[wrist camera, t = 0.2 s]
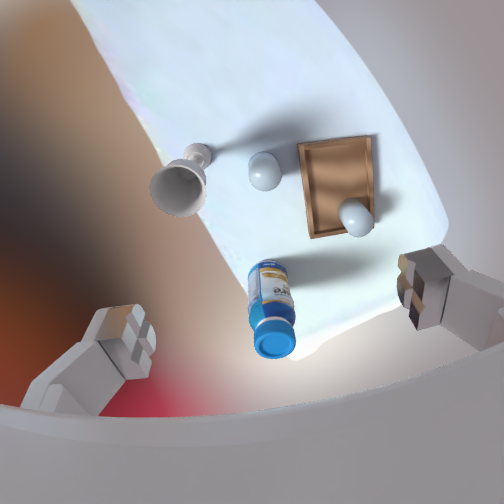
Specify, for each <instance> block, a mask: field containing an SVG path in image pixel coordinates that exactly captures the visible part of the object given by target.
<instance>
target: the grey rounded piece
mask: <svg viewBox="0 0 504 504" xmlns="http://www.w3.org/2000/svg"><path fill="white" fill-rule="evenodd" d="M248 170H249V180H250V183H251V184H252V186H253V187H254V188H256V189H258V190H260V191H270V190H273V189H274V188H276V187H277V186H278V185H279V183H280V181H281V178H282V173H281V170H280V167H279V165H278V162H277V160H276V158H275V157H274V156H273V155H272V154H270V153H267V152H259V153H257V154H255V155H253V156H252V157H251V159H250V161H249V164H248Z"/></svg>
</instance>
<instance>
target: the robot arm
mask: <svg viewBox="0 0 504 504" xmlns="http://www.w3.org/2000/svg"><path fill="white" fill-rule="evenodd" d="M398 267H399V269H400V270H401V273H400V275H399V276H398V278H397V291H398V296H399V299H400V302H401V303H402V305H403V307H405V308H407V309H409V310H410V311H409V318H410V319H411V321H412V323H413V324H414V326H415V328H416V330H417V331H418V330H422V329H425V328H429V327H432V326H436V325H440V324H441V326H442V327H444V328H445V329H447V330H448V331H450V332H451V333H453V334H454V335H456V336H457V337H459V338H460V339H462V340H463V341H465V342H466V343H468V344H469V345H471V346H472V347H474V348H475V349H477V350H478V351H480V352H478V353H476V354H474V355H471V356H468V357H466V358H463V359H461V360H458V361H456V362H453V363H450V364H448V365H445V366H442V367H439V368H436V369H434V370H431V371H428V372H425V373H422V374H419V375H416V376H413V377H410V378H406V379H403V380H400V381H396V382H393V383H390V384H386V385H382V386H379V387H375V388H371V389H367V390H364V391H360V392H355V393H351V394H347V395H343V396H338V397H334V398H329V399H324V400H320V401H315V402H309V403H304V404H298V405H292V406H286V407H280V408H273V409H266V410H258V411H250V412H242V413H232V414H222V415H209V416H193V417H171V418H123V417H98V415H99V413H100V412H101V411H102V410H103V408H104V407H105V406H106V405H107V403H108V402H109V401H110V400H111V398H112V397H113V396H114V394H115V393H116V392H117V391H118V390H119V388H120V387H121V386H122V385H123V383H124V382H125V380H126V379H139V378H147V377H148V375H149V371H150V367H151V360H150V358H149V356H151V354H152V353H153V352H154V351H155V346H156V336H155V333H154V330H153V328H152V326H151V324H150V323H148V322H147V321H145V320H144V316H145V313H144V311H143V309H142V307H141V306H140V305H137V304H134V305H126V306H118V307H112V308H103V309H100V310H97V311H96V313H95V315H94V317H93V319H92V321H91V323H90V325H89V327H88V329H87V331H86V333H85V335H84V337H83V339H82V341H81V342H77V343H76V344H75V345H74V346H73V347H71V348H70V349H69V350H68V351H67V352H66V353H64V354H63V355H62V356H61V357H60V358H59V359H57V360H56V361H55V362H54V363H53V364H52V365H51V366H49V367H48V368H47V369H46V370H45V371H44V372H42V373H41V374H40V375H39V376H38V377H37V378H35V379H34V380H33V381H32V382H31V384H30V386H29V389H28V391H27V393H26V395H25V397H24V399H23V402H22V404H21V406H20V408H18V407H13V406H7V405H2V404H0V504H504V283H503V282H501V281H499V280H496V279H494V278H491V277H489V276H486V275H484V274H481V273H478V272H476V271H473V270H471V271H468V270H467V269H466V268H465V267H464V266H463V265H462V264H461V263H460V261H459V260H458V259H457V258H456V257H455V256H454V255H453V254H452V253H451V252H450V251H449V250H448V249H447V248H446V247H445V246H444V245H442V244H439V245H436V246H432V247H428V248H426V249H422V250H418V251H414V252H409V253H405V254H401V255H400V256H399V259H398Z"/></svg>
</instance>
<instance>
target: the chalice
mask: <svg viewBox="0 0 504 504" xmlns="http://www.w3.org/2000/svg"><path fill="white" fill-rule="evenodd" d="M210 162H211V153H210V150H209V149H208V148H207V147H206V146H205V145H203V144H199V143H194V144H191V145H189V146H188V147H187V148H186V149H185V150H184V153H183V159H178V160H174V161H172V162H171V163H169V164H168V165H167V166H165V167H162V168H161V169H159V170H158V171H157V172H156V173H155V174H154V176H153V177H152V179H151V182H150V187H149V188H150V195H151V197H152V200H153V201H154V203H155V204H156V205H157V207H158V208H159V209H160V210H162V211H163V212H165V213H167V214H169V215H172V216H177V217H185V216H189V215H192V214H194V213H196V212H197V211H199V210H200V208H201V207H202V206H203V205H204V202H205V199H206V187H205V186H206V176H205V173H204V171H203V169H205V168H206V167H208V165H209V164H210Z"/></svg>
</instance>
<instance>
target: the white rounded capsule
mask: <svg viewBox="0 0 504 504" xmlns="http://www.w3.org/2000/svg"><path fill="white" fill-rule="evenodd" d="M338 216H339V218H340V220H341V221H342V223H343V225H344V226H345V228H346V229H347V231H348V233H349V234H350V235H352V236H354V237H363V236H365V235H367V234H368V233H369V232H370V231H371V230H372V228H373V225H374V219H373V216H372V215H371V214H370V212H369V211H368V210H367V209H366V208H365V207H364V205H363V204H362V203H361V202H360V201H359V200H358V199H355V198H348V199H345V200H344V201H342V202H341V204H340V205H339V207H338Z"/></svg>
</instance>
